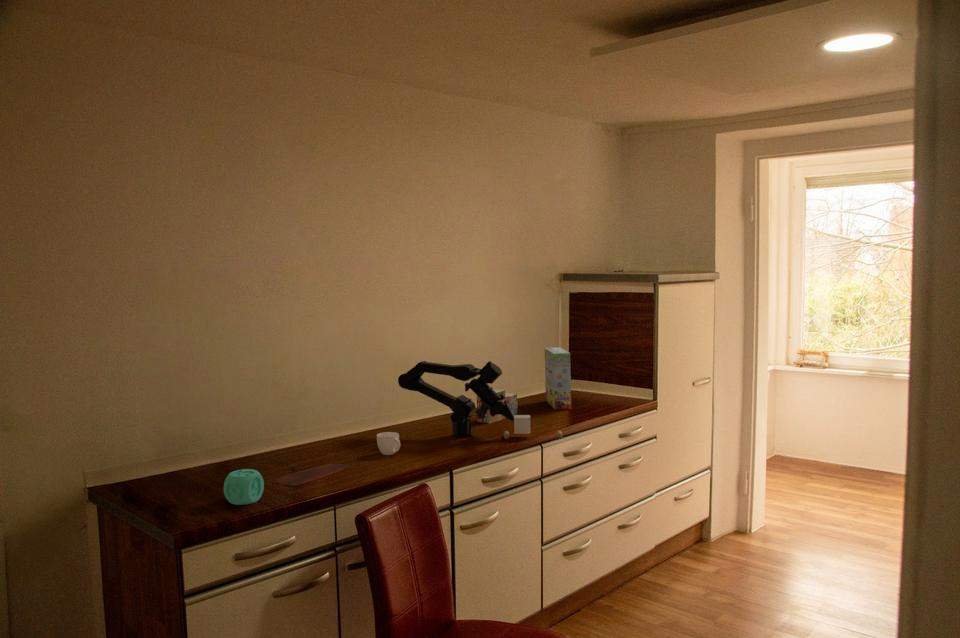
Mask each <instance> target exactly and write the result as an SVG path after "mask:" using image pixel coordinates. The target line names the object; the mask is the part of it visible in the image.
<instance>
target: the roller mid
mask: <svg viewBox="0 0 960 638" xmlns="http://www.w3.org/2000/svg"><path fill="white" fill-rule="evenodd" d="M556 435H557V438H558V440H562V439H563V438H564V435H563V432H562V431H561V430H557V431H556Z"/></svg>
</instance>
